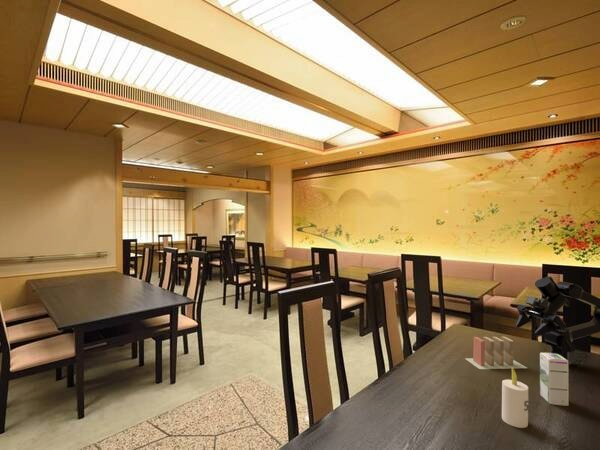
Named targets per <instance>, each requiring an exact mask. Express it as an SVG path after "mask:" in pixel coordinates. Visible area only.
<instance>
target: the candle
mask: <svg viewBox="0 0 600 450" xmlns="http://www.w3.org/2000/svg"><path fill="white" fill-rule="evenodd" d="M529 402H530V401H529V386H528V385H527V384H525V383H523V382H521V381H520V380H519V381H518V377H517V373H516V371H515V369H513V368H512V369H511V379H503V380H502V381H501V419H502V421H503V422H504V423H506V424H508V425H509V426H512V427H515V428H519V429H525V428H528V425H529Z"/></svg>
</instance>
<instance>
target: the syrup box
mask: <svg viewBox="0 0 600 450" xmlns="http://www.w3.org/2000/svg"><path fill="white" fill-rule="evenodd" d="M568 361H569V359H568V360H566V359H565V358H563V357H562V356H560V355H559V354H555V353H551V352H539V395H540V396H541V397H542V398H543V400H545V402H546V403H548V404H550V405H556V406H565V407H566V406H567V407H569V366H568Z"/></svg>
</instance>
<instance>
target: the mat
mask: <svg viewBox="0 0 600 450" xmlns="http://www.w3.org/2000/svg"><path fill="white" fill-rule="evenodd" d="M464 359H465V360H466V361H468V363H470V364H471V365H473V366H474V367H476V368H477V369H479V370H498V369H499V370H505V369H507V370H508V369H509V370H510V369H511V370H512V368H513V369H514V370H515V369H528V367H527V366H525V365H523V364H521V363H520V362H518V361H516V360H515V359H513V366H509V365H507V364H506V363H504V366H499V365H498V364H496V363H495V362H494V366H490V365H488V364H487V363H485V366H480V365H478V364H477V363H476V362H474V361H473V357H471V358H468V357H466V358H464Z"/></svg>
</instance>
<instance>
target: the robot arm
mask: <svg viewBox="0 0 600 450" xmlns="http://www.w3.org/2000/svg"><path fill="white" fill-rule="evenodd" d="M534 286H535V287H536V289H538V291H539V292H540V294H541V295H542V296H543V297H542V298H537V297H535V296H530V295H528V296H527V299H526V301H525V304H526V305H523V304H519V305H518V306H517V307H516V309H517V312H518V314H519V317H518V319H517V322H516V324H515V327H516V328H517V329H519V328H521V327H522V326H523V327H524V325H526V324H528V323H529V322H531V320H533V319H534V318H537V319H540V320H541V321H542V323H541V324H540V326H538V328H537V329H536V330H535V331H534V335H535V336H538V335H542V336H543V340H544V343H545V345H547V346H550V353H555V354H559V355H560V356H562V357H563V358H565V359H566V360H568V367H569V366H571V364H572V361H570V360H569V356H570V355H569V354H570V353H572V352H575V349H576V345H575V344H574V343H573V340H576V339H581V338H584V337H587V336H592V335H594V334H599V333H600V297H598V296H596V295H593V294H591V293H589V292H587V291H585V290H584V289H583V288H582V287H581V286H580V285H578V284H576V283H570V282H566V281H558V282H557V283H556V282H555V281H554V278H552V276H548V275H547V276H546V277H542V278H540V279H537V280H536V281H534ZM544 297H546V298H544ZM567 297H568V298H571V299H576V300H579V301H580V302H583V303H585V304H588V305H590V306H592V307H593V308H594V310H593V313H592V315H593V318H592V320H591V321H588V322H584V323H581V324H577V325H573V326H569V327H566V323H565V322H564V320H563V319H562V318H561V316H560V315H559V314H560V312H559V310H561V308H562V307H564V306H565V307H571V303H570V299H568V298H567ZM527 304H528V305H529V306H528V305H527ZM530 306H531V308H530ZM532 310H533V311H532Z"/></svg>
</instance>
